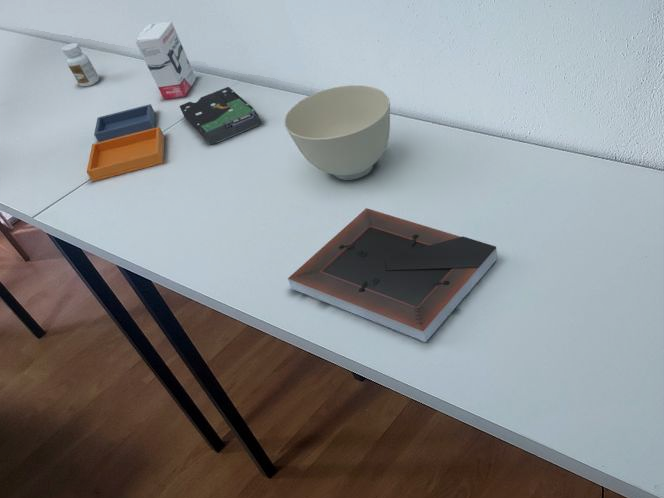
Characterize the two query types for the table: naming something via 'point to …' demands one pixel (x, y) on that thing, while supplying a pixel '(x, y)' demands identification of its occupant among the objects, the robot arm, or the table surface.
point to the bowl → (341, 129)
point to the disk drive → (220, 115)
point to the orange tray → (126, 154)
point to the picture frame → (395, 272)
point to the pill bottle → (80, 65)
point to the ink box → (166, 59)
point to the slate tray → (125, 123)
